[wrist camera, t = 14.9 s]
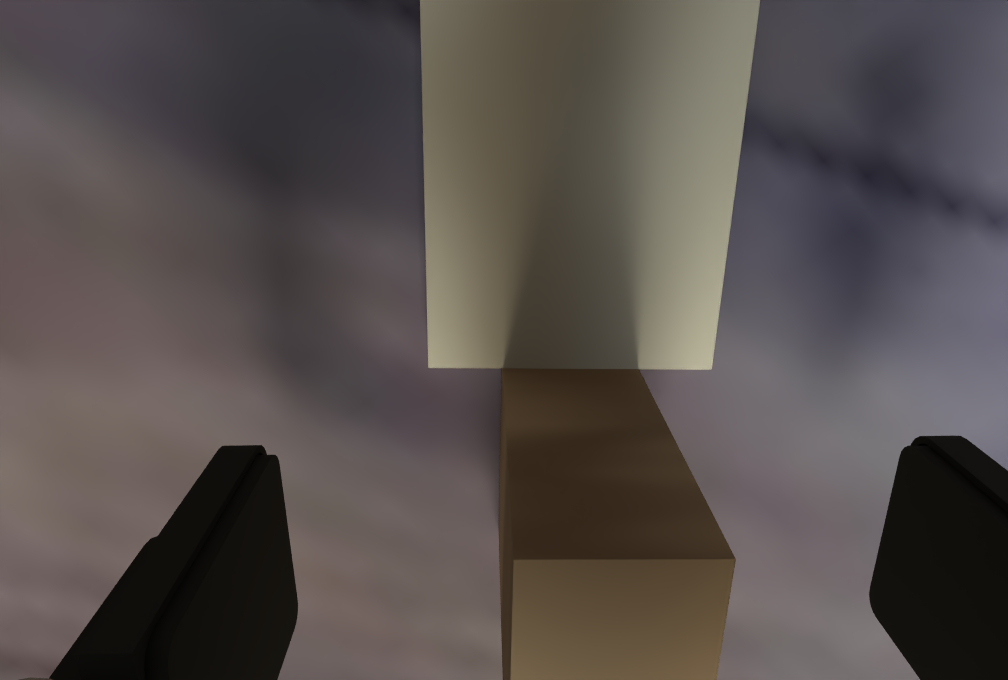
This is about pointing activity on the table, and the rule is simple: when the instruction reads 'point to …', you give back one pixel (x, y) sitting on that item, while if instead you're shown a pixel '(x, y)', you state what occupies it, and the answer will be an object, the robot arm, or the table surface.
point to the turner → (588, 304)
